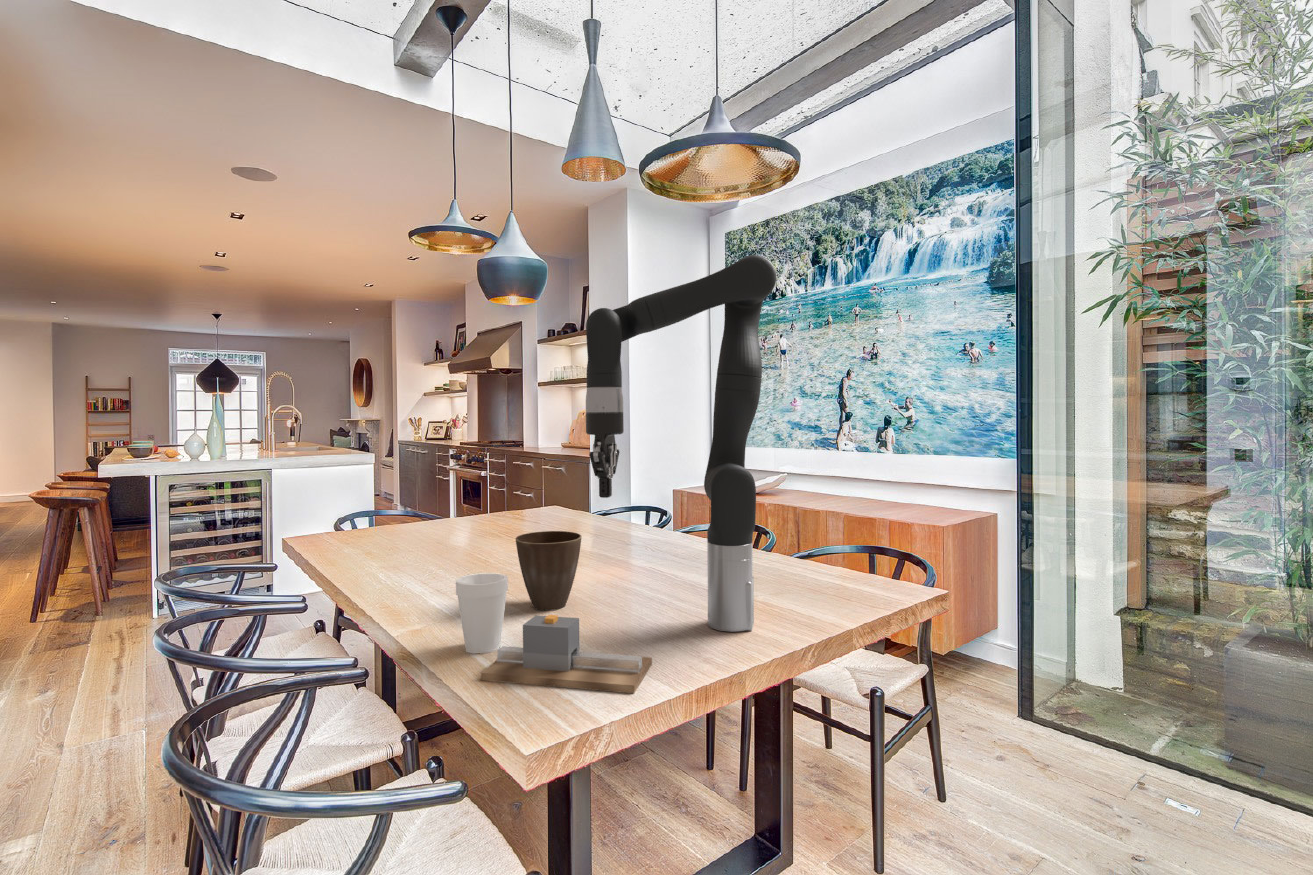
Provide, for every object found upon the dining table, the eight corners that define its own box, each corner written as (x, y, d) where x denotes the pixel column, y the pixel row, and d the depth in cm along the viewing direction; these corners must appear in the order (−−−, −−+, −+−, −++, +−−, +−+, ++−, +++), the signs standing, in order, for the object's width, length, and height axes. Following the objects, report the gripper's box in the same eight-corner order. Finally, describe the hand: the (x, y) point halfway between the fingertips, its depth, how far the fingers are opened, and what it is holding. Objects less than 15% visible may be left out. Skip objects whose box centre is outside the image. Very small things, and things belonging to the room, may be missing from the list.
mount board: (651, 664, 112) (651, 657, 112) (634, 693, 100) (634, 685, 100) (512, 653, 118) (512, 647, 118) (480, 679, 106) (480, 672, 106)
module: (579, 659, 111) (579, 613, 111) (568, 671, 106) (568, 623, 106) (536, 656, 113) (535, 610, 113) (523, 667, 108) (522, 620, 108)
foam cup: (481, 660, 115) (479, 587, 114) (445, 650, 120) (444, 581, 119) (519, 644, 123) (518, 576, 122) (484, 636, 128) (483, 570, 127)
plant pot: (594, 607, 146) (593, 537, 146) (533, 620, 138) (532, 545, 137) (563, 593, 159) (563, 528, 158) (506, 604, 150) (505, 535, 149)
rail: (642, 667, 108) (642, 655, 108) (638, 673, 105) (638, 661, 105) (503, 656, 113) (503, 645, 113) (496, 662, 110) (496, 650, 110)
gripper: (613, 410, 122) (614, 501, 122) (631, 410, 135) (632, 493, 135) (575, 410, 124) (576, 500, 124) (596, 411, 137) (597, 493, 137)
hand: (605, 497), depth 130 cm, fingers closed
